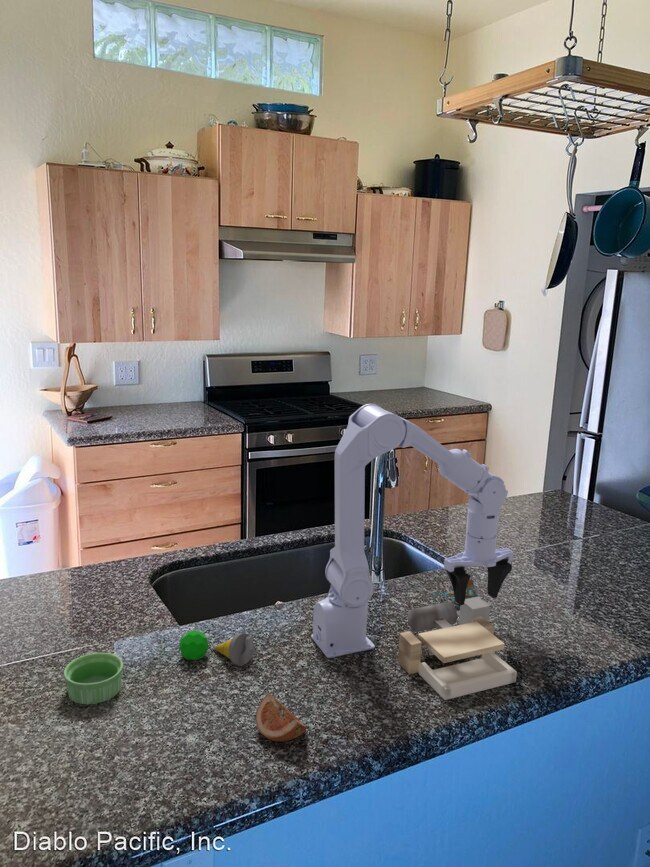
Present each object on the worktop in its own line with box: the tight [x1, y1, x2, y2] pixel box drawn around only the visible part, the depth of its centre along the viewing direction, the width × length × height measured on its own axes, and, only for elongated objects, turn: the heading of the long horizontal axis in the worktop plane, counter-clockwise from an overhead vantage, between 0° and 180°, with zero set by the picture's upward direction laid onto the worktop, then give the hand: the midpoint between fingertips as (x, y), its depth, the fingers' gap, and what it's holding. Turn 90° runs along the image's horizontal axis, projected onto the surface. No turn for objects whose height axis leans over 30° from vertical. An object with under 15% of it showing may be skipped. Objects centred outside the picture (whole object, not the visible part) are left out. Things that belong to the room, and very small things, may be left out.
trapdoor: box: [407, 601, 506, 664], centre depth 120 cm, size 15×12×4 cm
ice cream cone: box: [213, 632, 257, 667], centre depth 120 cm, size 5×5×10 cm
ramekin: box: [63, 652, 124, 705], centre depth 109 cm, size 9×9×4 cm
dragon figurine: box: [430, 577, 479, 601], centre depth 143 cm, size 6×7×8 cm
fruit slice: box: [255, 692, 308, 742], centre depth 100 cm, size 8×7×5 cm
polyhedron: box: [178, 630, 209, 661], centre depth 120 cm, size 5×5×5 cm
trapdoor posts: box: [397, 616, 495, 675], centre depth 121 cm, size 4×17×6 cm, turn 113°
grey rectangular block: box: [458, 596, 491, 625], centre depth 133 cm, size 4×4×5 cm
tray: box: [418, 651, 518, 701], centre depth 116 cm, size 14×8×2 cm, turn 113°
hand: (475, 599), depth 133 cm, fingers open, 7 cm apart
